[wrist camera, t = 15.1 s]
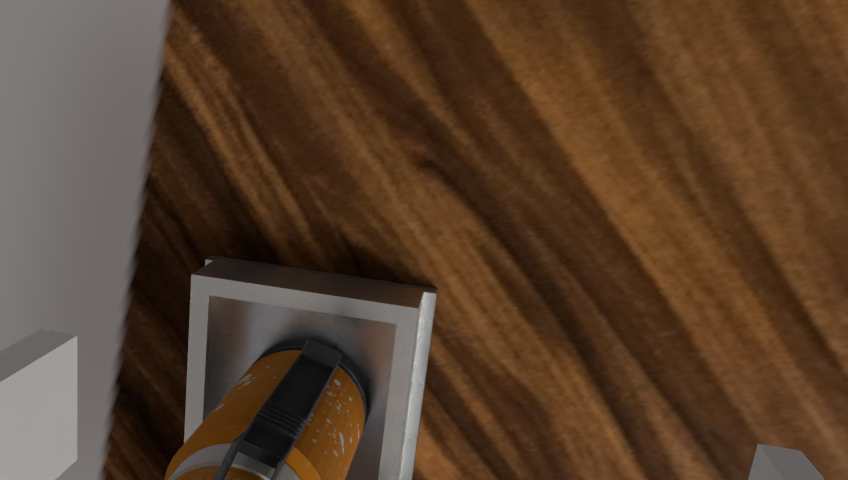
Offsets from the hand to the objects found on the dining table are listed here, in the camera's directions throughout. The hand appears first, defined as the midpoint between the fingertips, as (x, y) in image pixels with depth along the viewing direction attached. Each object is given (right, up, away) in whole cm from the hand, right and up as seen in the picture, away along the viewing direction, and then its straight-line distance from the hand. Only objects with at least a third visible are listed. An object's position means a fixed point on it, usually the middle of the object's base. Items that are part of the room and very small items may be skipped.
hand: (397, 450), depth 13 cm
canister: (-7, -6, +35) cm, 36 cm away
